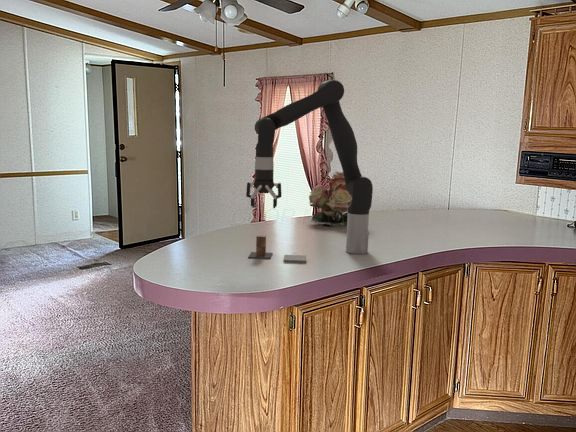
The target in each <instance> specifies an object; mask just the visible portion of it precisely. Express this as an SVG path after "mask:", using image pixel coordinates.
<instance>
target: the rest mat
mask: <svg viewBox="0 0 576 432" xmlns="http://www.w3.org/2000/svg"><path fill="white" fill-rule="evenodd" d="M272 257H273V252H266V254H265V256H256V251H251V252H250V254H249V255H248V259H256V260H257V259H259V260H261V259H262V260H271V259H272Z"/></svg>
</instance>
